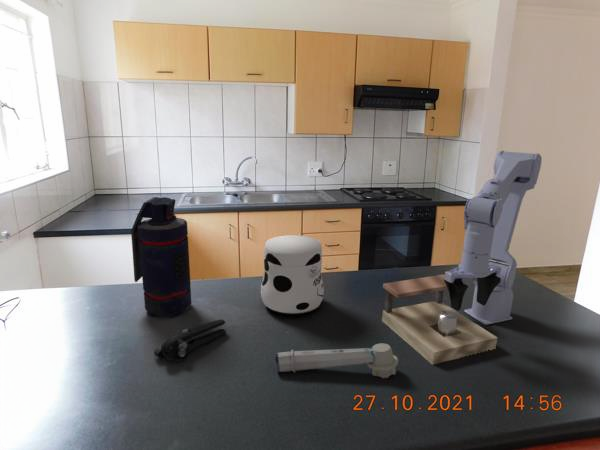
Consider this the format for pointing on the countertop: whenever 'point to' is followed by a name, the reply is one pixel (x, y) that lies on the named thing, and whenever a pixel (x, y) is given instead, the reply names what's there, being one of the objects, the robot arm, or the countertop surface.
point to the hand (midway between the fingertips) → (468, 306)
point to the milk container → (292, 274)
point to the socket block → (432, 322)
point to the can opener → (179, 349)
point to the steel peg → (447, 323)
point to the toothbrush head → (340, 359)
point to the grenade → (162, 258)
